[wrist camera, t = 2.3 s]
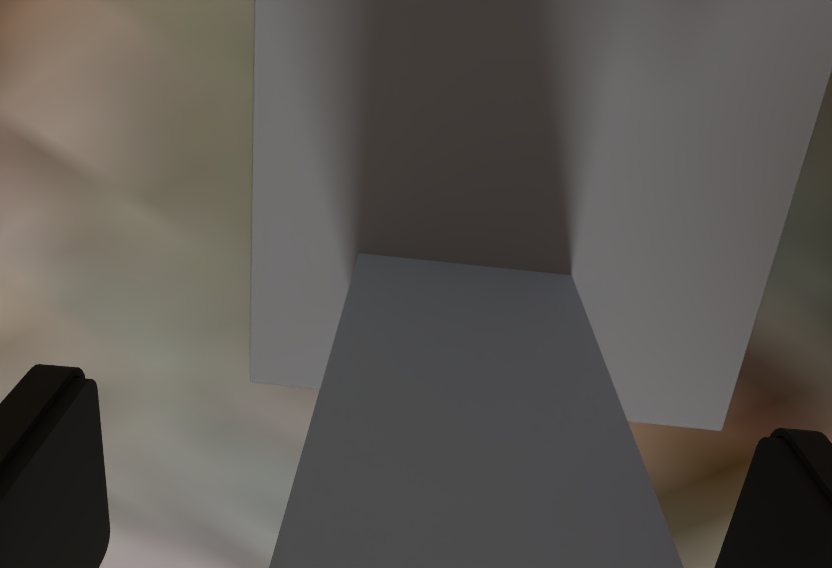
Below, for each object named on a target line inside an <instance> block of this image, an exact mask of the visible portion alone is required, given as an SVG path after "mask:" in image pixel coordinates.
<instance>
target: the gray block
mask: <svg viewBox="0 0 832 568" xmlns="http://www.w3.org/2000/svg"><path fill="white" fill-rule="evenodd" d="M269 568H683V565H682V562H681V560H680V557H679V554H678V552H677V549H676V547H675V544H674V541H673V539H672V536H671V534H670V531H669V528H668V526H667V523H666V520H665V518H664V515H663V513H662V510H661V507H660V505H659V502H658V500H657V497H656V494H655V492H654V489H653V486H652V484H651V481H650V479H649V476H648V473H647V471H646V468H645V466H644V463H643V460H642V458H641V455H640V453H639V450H638V447H637V445H636V442H635V439H634V437H633V434H632V432H631V429H630V426H629V424H628V421H627V419H626V416H625V413H624V411H623V408H622V405H621V403H620V400H619V398H618V395H617V392H616V390H615V387H614V385H613V382H612V379H611V377H610V374H609V371H608V369H607V366H606V364H605V361H604V358H603V356H602V353H601V351H600V348H599V345H598V343H597V340H596V338H595V335H594V332H593V330H592V327H591V324H590V322H589V319H588V317H587V314H586V311H585V309H584V306H583V304H582V301H581V298H580V296H579V293H578V290H577V288H576V285H575V283H574V280H573V277H572V275H563V274H554V273H544V272H535V271H525V270H515V269H506V268H496V267H487V266H477V265H467V264H458V263H448V262H439V261H429V260H419V259H410V258H400V257H391V256H381V255H371V254H362V253H359V254H358V257H357V261H356V264H355V268H354V271H353V275H352V279H351V282H350V286H349V289H348V293H347V296H346V300H345V303H344V307H343V310H342V314H341V317H340V321H339V324H338V328H337V331H336V335H335V338H334V342H333V345H332V349H331V352H330V356H329V359H328V363H327V366H326V370H325V373H324V377H323V381H322V384H321V388H320V391H319V395H318V398H317V402H316V405H315V409H314V412H313V416H312V419H311V423H310V426H309V430H308V433H307V437H306V440H305V444H304V447H303V451H302V454H301V458H300V461H299V465H298V468H297V472H296V475H295V479H294V483H293V486H292V490H291V493H290V497H289V500H288V504H287V507H286V511H285V514H284V518H283V521H282V525H281V528H280V532H279V535H278V539H277V542H276V546H275V549H274V553H273V556H272V560H271V563H270V567H269Z"/></svg>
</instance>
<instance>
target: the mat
mask: <svg viewBox="0 0 832 568" xmlns="http://www.w3.org/2000/svg"><path fill="white" fill-rule="evenodd" d="M831 71H832V0H255V49H254V123H253V197H252V271H251V345H250V382H251V383H261V384H271V385H280V386H290V387H300V388H310V389H319V390H320V388H321V384H322V381H323V377H324V373H325V370H326V366H327V363H328V359H329V356H330V352H331V349H332V345H333V342H334V338H335V335H336V331H337V328H338V324H339V321H340V317H341V314H342V310H343V307H344V303H345V300H346V296H347V293H348V289H349V286H350V282H351V279H352V275H353V271H354V268H355V264H356V261H357V257H358V254H359V253H362V254H371V255H381V256H391V257H400V258H410V259H419V260H429V261H439V262H448V263H458V264H467V265H477V266H487V267H496V268H506V269H515V270H525V271H535V272H544V273H554V274H563V275H572V277H573V280H574V283H575V285H576V288H577V290H578V293H579V296H580V298H581V301H582V304H583V306H584V309H585V311H586V314H587V317H588V319H589V322H590V324H591V327H592V330H593V332H594V335H595V338H596V340H597V343H598V345H599V348H600V351H601V353H602V356H603V358H604V361H605V364H606V366H607V369H608V371H609V374H610V377H611V379H612V382H613V385H614V387H615V390H616V392H617V395H618V398H619V400H620V403H621V405H622V408H623V411H624V413H625V416H626V419H627V421H630V422H639V423H649V424H659V425H669V426H678V427H688V428H698V429H707V430H717V431H721V430H722V427H723V424H724V420H725V417H726V414H727V411H728V407H729V404H730V401H731V398H732V394H733V391H734V388H735V385H736V381H737V378H738V375H739V371H740V368H741V365H742V362H743V358H744V355H745V352H746V349H747V345H748V342H749V339H750V335H751V332H752V329H753V326H754V322H755V319H756V316H757V313H758V309H759V306H760V303H761V300H762V296H763V293H764V290H765V286H766V283H767V280H768V277H769V273H770V270H771V267H772V264H773V260H774V257H775V254H776V250H777V247H778V244H779V241H780V237H781V234H782V231H783V228H784V224H785V221H786V218H787V214H788V211H789V208H790V205H791V201H792V198H793V195H794V192H795V188H796V185H797V182H798V179H799V175H800V172H801V169H802V165H803V162H804V159H805V156H806V152H807V149H808V146H809V143H810V139H811V136H812V133H813V129H814V126H815V123H816V120H817V116H818V113H819V110H820V107H821V103H822V100H823V97H824V94H825V90H826V87H827V84H828V80H829V77H830V74H831Z"/></svg>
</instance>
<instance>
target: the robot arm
mask: <svg viewBox="0 0 832 568" xmlns="http://www.w3.org/2000/svg"><path fill="white" fill-rule="evenodd" d="M109 537H110V522H109V511H108V500H107V489H106V477H105V466H104V455H103V444H102V433H101V422H100V411H99V400H98V389H97V384H96V382H95V381H94V380H93V379H85V375H84V373H83V371H82V369H80V368H78V367H66V366H55V365H43V364H38V365H35V366H33V367H32V368H31V369H30V370H29V371H28V372H27V374H26V375H25V376H24V377H23V378H22V379H21V380H20V382H19V383H18V384H17V385H16V386H15V387H14V388H13V390H12V391H11V392H10V393H9V394H8V395H7V396H6V398H5V399H4V400H3V401H2V402H1V403H0V568H99V566H100V564H101V562H102V560H103V558H104V556H105V553H106V551H107V547H108V543H109ZM715 568H832V443H831V442H830V441H829V439H828V438H827V437H826V436H825V435H824V434H823V433H821V432H818V431H809V430H797V429H786V428H778V429H775V430H774V431H773V432H772V433H771V435H770V437H764V438H762V439H761V440H760V441H759V443H758V445H757V447H756V450H755V453H754V456H753V459H752V462H751V464H750V467H749V470H748V473H747V476H746V479H745V482H744V485H743V487H742V490H741V493H740V496H739V499H738V502H737V505H736V508H735V511H734V513H733V516H732V519H731V522H730V525H729V528H728V531H727V534H726V536H725V539H724V542H723V545H722V548H721V551H720V554H719V557H718V559H717V562H716V565H715Z"/></svg>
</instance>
